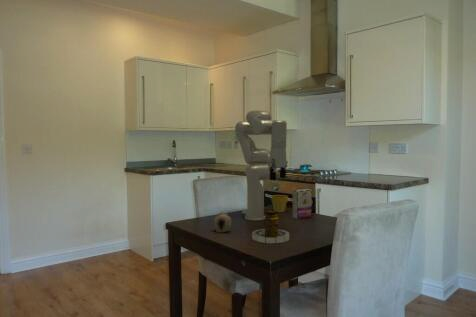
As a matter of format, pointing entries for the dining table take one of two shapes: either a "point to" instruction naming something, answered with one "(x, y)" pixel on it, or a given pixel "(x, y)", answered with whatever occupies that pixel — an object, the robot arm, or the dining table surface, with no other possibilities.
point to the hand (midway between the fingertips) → (277, 178)
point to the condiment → (271, 224)
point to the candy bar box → (302, 203)
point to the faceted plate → (259, 238)
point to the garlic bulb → (222, 222)
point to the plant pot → (279, 202)
